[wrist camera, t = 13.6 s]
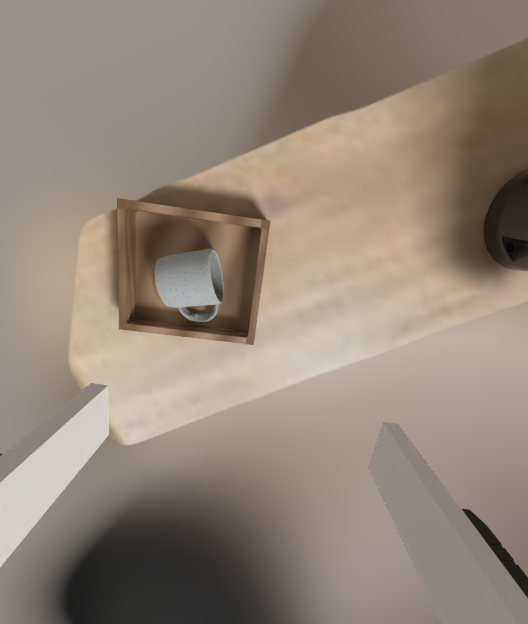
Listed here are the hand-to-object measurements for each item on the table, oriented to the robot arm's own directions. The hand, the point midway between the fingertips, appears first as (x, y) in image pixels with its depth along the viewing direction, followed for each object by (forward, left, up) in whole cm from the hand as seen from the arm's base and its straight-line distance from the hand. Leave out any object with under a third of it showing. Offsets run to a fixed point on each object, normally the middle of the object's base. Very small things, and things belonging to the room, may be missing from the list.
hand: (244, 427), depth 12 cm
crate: (+9, -3, -29) cm, 31 cm away
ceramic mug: (+8, -1, -28) cm, 30 cm away
